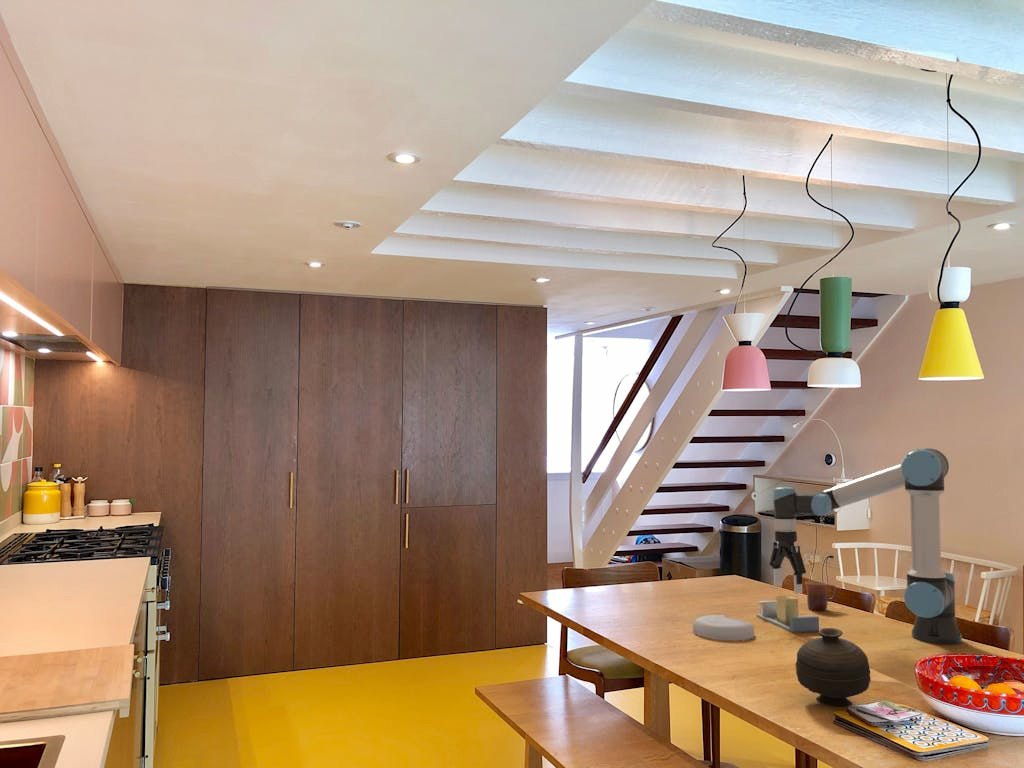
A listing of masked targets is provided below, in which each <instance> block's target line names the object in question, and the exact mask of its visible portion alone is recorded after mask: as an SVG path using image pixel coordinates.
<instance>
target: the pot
mask: <svg viewBox="0 0 1024 768" xmlns="http://www.w3.org/2000/svg"><path fill="white" fill-rule="evenodd" d="M817 635H819V636H820V637H816V638H812V639H811V640H808V641H806V642H805V643H804V644H802V646H800V647H799V648H798V651H797V652H796V661H795V664H794V666H795V673H796V676H797V680H798V683H799V684H800V685H801V686H802V687H804V688H806V689H808V691H809V692H812V693H814V694H818V696H817V697H816V698H815V700H816V701H817V702H818V703H820V704H821V705H822V704H823V705H824V706H830V707H839V708H845V707H850V706H849V705H851V706H852V705H853V702H852V701H851V700H849V698H850V697H856V696H859V695H860V694H863V693H864V692H866V691H867V690H868V689H869V687H870V682H871V669H870V664H869V658H868V656H867V654H866V653H865V651H864V650H863V649H862V648H860V646H859V645H856V644H855V643H854V642H852V641H850V640H847V639H845V638H841V637H842V635H843V630H841V629H838V628H836V627H834V628H833V627H823V628H821V629H819V632H817Z"/></svg>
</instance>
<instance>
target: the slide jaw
mask: <svg viewBox="0 0 1024 768" xmlns="http://www.w3.org/2000/svg"><path fill="white" fill-rule="evenodd" d="M757 604H758V605H760V614H761V615H763V616H777V599H775V600H758V601H757Z"/></svg>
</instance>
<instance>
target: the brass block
mask: <svg viewBox="0 0 1024 768" xmlns="http://www.w3.org/2000/svg"><path fill="white" fill-rule="evenodd" d="M776 600H777V621H778V622H780V623H782V624H784V625H790V617H799V599H798V598H797V597H794V596H791V595H777V596H776Z"/></svg>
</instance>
